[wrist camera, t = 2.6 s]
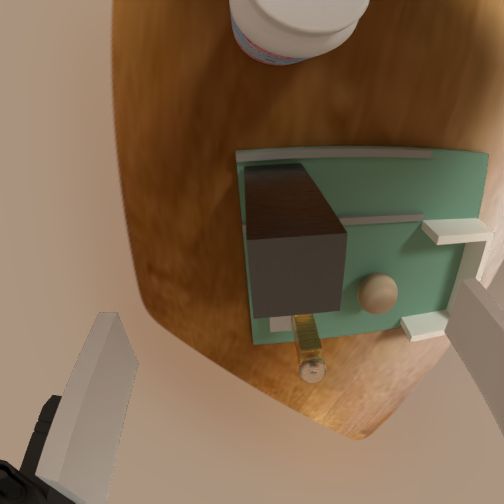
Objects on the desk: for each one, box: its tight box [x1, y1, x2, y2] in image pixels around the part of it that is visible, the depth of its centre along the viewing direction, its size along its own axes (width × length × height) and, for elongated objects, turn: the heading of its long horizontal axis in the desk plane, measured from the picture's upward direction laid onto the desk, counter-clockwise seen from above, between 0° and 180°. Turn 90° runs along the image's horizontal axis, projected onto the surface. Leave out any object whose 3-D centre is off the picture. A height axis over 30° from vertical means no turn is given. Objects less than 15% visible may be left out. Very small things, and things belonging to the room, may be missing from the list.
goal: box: [400, 218, 495, 342], centre depth 27 cm, size 12×7×4 cm, turn 4°
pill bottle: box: [229, 0, 370, 65], centre depth 13 cm, size 6×6×11 cm
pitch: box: [236, 146, 489, 345], centre depth 26 cm, size 18×22×1 cm
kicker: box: [244, 163, 348, 383], centre depth 21 cm, size 14×4×11 cm, turn 4°
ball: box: [357, 273, 398, 314], centre depth 26 cm, size 4×4×4 cm
